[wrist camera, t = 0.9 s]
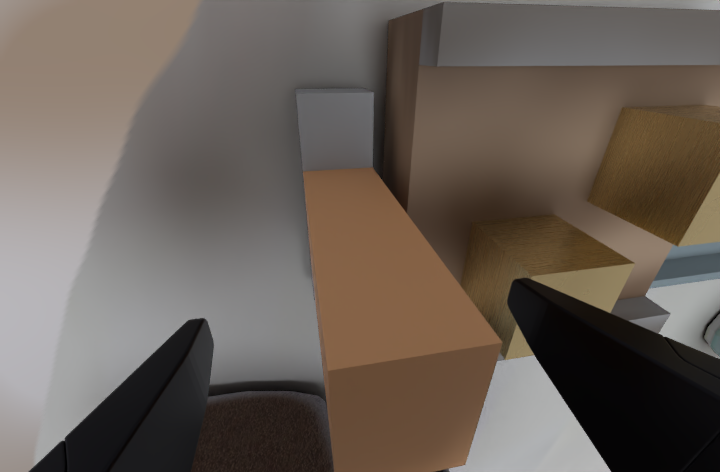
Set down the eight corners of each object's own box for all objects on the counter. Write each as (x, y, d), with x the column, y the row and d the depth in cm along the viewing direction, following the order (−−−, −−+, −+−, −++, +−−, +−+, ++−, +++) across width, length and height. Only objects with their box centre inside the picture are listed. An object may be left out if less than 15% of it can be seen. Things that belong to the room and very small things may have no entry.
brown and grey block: (362, 271, 19) (447, 521, 9) (312, 277, 19) (340, 549, 8) (363, 87, 14) (554, 173, 4) (295, 88, 14) (314, 189, 4)
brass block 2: (659, 195, 15) (766, 236, 12) (586, 201, 15) (677, 246, 11) (704, 104, 13) (848, 122, 10) (622, 107, 13) (745, 127, 9)
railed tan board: (582, 276, 23) (658, 333, 18) (378, 302, 21) (404, 376, 16) (687, 26, 16) (858, 14, 11) (388, 20, 13) (443, 2, 8)
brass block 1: (531, 284, 17) (594, 344, 13) (458, 294, 16) (505, 360, 12) (554, 214, 15) (635, 263, 11) (472, 221, 14) (532, 276, 11)
